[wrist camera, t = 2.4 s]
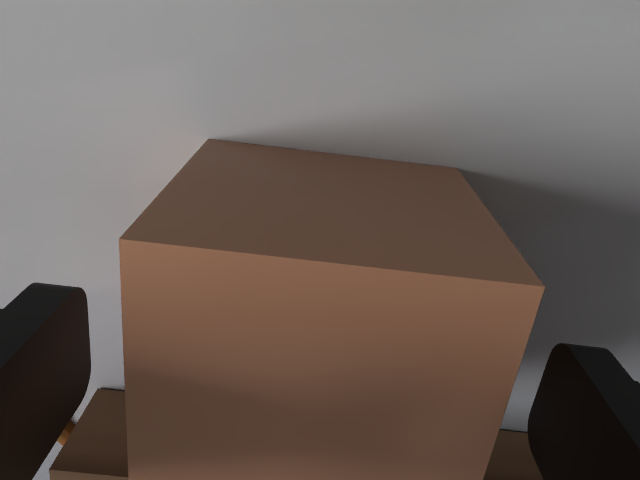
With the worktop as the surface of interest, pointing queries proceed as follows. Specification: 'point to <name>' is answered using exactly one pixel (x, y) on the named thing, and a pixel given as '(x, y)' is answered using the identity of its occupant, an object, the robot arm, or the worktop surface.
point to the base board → (112, 459)
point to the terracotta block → (318, 320)
